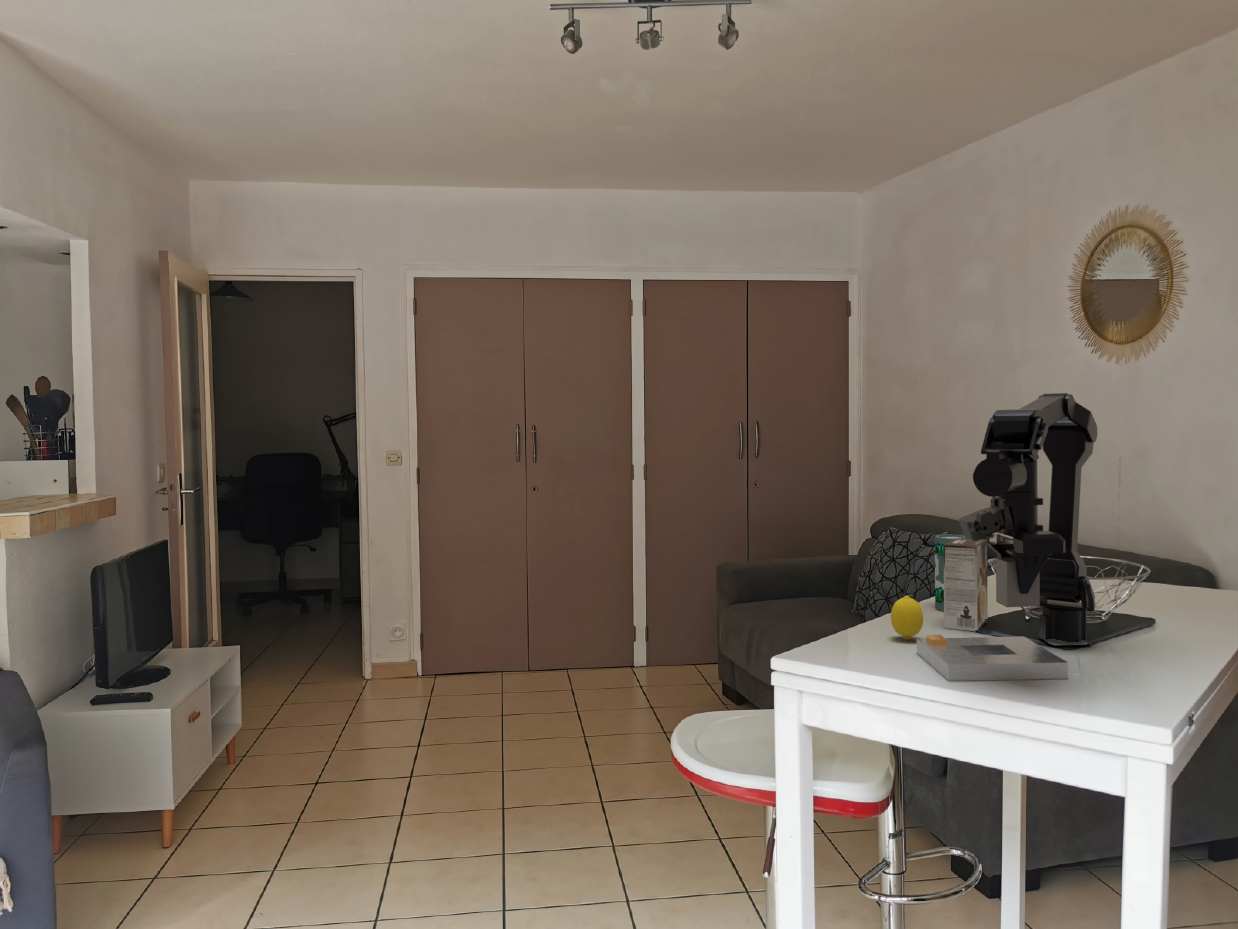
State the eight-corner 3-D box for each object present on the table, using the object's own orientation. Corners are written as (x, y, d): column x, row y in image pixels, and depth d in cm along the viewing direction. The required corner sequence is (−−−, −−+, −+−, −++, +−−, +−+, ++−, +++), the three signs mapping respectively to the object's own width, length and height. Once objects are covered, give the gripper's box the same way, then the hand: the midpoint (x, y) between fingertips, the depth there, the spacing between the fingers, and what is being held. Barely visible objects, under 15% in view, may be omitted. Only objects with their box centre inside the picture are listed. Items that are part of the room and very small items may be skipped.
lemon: (925, 644, 160) (925, 599, 159) (892, 643, 161) (892, 598, 161) (921, 636, 165) (921, 592, 165) (889, 635, 166) (889, 592, 166)
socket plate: (1023, 651, 154) (1023, 631, 154) (1068, 678, 138) (1068, 657, 138) (916, 653, 154) (916, 633, 154) (948, 681, 138) (948, 659, 138)
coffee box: (953, 618, 178) (953, 537, 177) (988, 622, 175) (988, 539, 174) (943, 628, 171) (942, 543, 170) (979, 632, 167) (978, 545, 166)
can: (941, 604, 191) (940, 533, 190) (971, 607, 187) (970, 535, 187) (932, 610, 186) (931, 537, 185) (962, 613, 182) (962, 539, 182)
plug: (1027, 600, 143) (1027, 556, 143) (1039, 606, 139) (1039, 561, 139) (996, 601, 143) (995, 557, 143) (1007, 607, 139) (1006, 562, 139)
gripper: (943, 487, 149) (944, 581, 150) (990, 498, 131) (990, 605, 132) (1010, 485, 149) (1011, 579, 150) (1067, 496, 131) (1067, 603, 132)
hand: (1017, 590), depth 141 cm, fingers closed on plug, 4 cm apart
